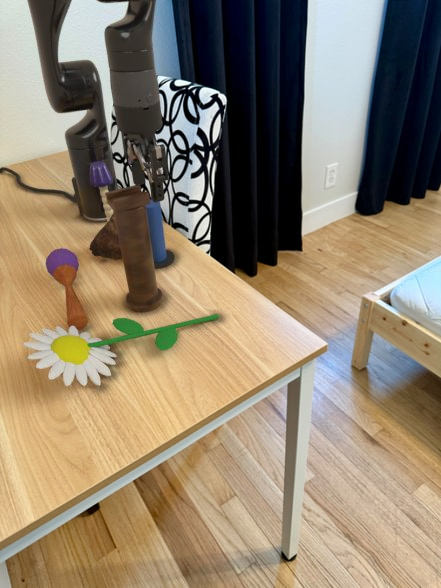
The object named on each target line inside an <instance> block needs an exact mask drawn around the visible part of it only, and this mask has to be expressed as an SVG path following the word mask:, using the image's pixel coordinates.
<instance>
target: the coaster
mask: <svg viewBox="0 0 441 588" xmlns="http://www.w3.org/2000/svg"><path fill="white" fill-rule="evenodd" d="M166 255H167V257H166V259H165V260H163V261H161V262H154V267H155V270H159V269H164V268H167V267H169V266H171V265H172V264H173V263H174V261H175V260H176V256H175V253H174V252H173V251H171V250H169V249H166Z"/></svg>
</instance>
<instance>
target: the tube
mask: <svg viewBox="0 0 441 588" xmlns="http://www.w3.org/2000/svg"><path fill="white" fill-rule="evenodd" d="M146 212H147V219H148V226H149V233H150V239H151V246H152V253H153V260H154V262H161V261H163V260H165V259H166V257H167V255H166V250H167V248H166V240H165V232H164V231H165V230H164V222H163V215H162V205H161V201H159V202H153V201H152V198H151V199H150V204H148V205H146Z"/></svg>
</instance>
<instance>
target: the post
mask: <svg viewBox="0 0 441 588" xmlns="http://www.w3.org/2000/svg"><path fill="white" fill-rule="evenodd" d="M105 195H106V200H107V204H108V205H109V206H110V207H111V208H112V209H113V213H114V218H115V223H116V228H117V233H118V238H119V244H120V249H121V254H122V259H121V260H122V264H123V269H124V274H125V278H126V284H127V288H128V293H127V294H126V296H125V299H126V305H127V307H128V308H129V310H131V311H133V312H136V313H149V312H152V311H155V310H156V309H158V308H160V307H161V305H162V304H163V302H164V295H163V291H162V289H160V288H159V287H158V281H157V275H156V274H157V273H156V269H155V267H154V260H153V253H152V246H151V239H150V233H149V226H148V219H147V212H146V205H148V204H150V200H151V199H150V198H151V196H150V193H149V192H148V191H142V185H139V184H138V185H135V184H133V185H131V186H127V187H123V188H118V190H114V191H110V192H106V193H105Z"/></svg>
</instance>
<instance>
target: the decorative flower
mask: <svg viewBox="0 0 441 588" xmlns="http://www.w3.org/2000/svg"><path fill="white" fill-rule="evenodd" d="M219 318H220V317H219V314H218V313H215V314H211V315H207V316H203V317H198V318H194V319H190V320H185V321H181V322H176V323H171V324H169V325H164V326H160V327H155V328H150V329H147V330H145V328H144V327H143V325H142V324H141V323H139V322H137V321H136V320H134V319H131V318H128V317H117V318H114V319H113V320H112V326H113V327H114V328H115V329H116V330H117V331H119V332H120V333H122V334H125V335H121V336H116V337H112V338H106V339H102V338H99V337H91V334H90V333H89V332H88V331H84V332H81V333H80V332H79V330H77V329H76V328H75V326H70V327H68V331H67V330H66V329H64V327H62V326H59V325H56V326H55V327H54V330H55V331H54V330H52V329H50V328H45V327H43V328H41V329H40V332H41V333H43V334H41V333H36V332H30V333H28V335H29V337H30V338H31V339H33V340H34V341H25V342H24V343H23V345H24V347H26V348H29V349H31V350H34V351H36V352H33V353H31V354H29V355H27V359H29V360H39V361H38V362H37V363H36V364H35V365H36V366H35V368H36V369H40V370H41V369H42V370H43V369H48V368H50V367H51V368H50V369H49V371H48V376H47V377H48V379H49V380H55V379H57V378H59V377H60V376H61V375H62V381H63V384H64V385H65V386H66V387H68V386H71V385H72V383H73V381H74V379H75V378H76V381H78V383H79V384H80V385H82V386H83V387H86V386H87V384H88V378H89V379H90V381H91V382H92V383H93V384H94V385H96V386H101V384H102V381H101V376H100V374H101V375H103V376H105V377H111V376H112V372H111V370H110V368H109V366H108V365H110V366H111V365H113V366H114V365H117V363H116V361H115V359H113V358H117V357H118V356H117V354H116V353H114V352H112V351H111V346H110V345H112V344H117V343H121V342H126V341H130V340H133V339H137V338H142V337H147V336H150V335H154V334H156V335H155V339H154V343H155V347H156V348H157V349H158V350H159V351H167V350H169V349H171V348H173V347H174V346H175V344H176V343H177V342H178V338H179V332H178V329H180V328H183V327H188V326H192V325H197V324H202V323H205V322H210V321H214V320H218V319H219ZM79 333H80V334H79ZM106 364H107V365H106Z"/></svg>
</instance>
